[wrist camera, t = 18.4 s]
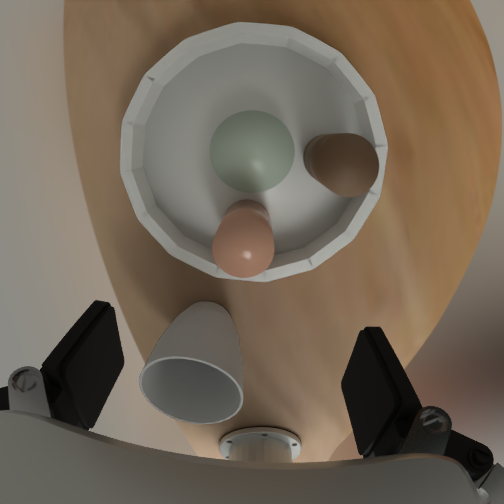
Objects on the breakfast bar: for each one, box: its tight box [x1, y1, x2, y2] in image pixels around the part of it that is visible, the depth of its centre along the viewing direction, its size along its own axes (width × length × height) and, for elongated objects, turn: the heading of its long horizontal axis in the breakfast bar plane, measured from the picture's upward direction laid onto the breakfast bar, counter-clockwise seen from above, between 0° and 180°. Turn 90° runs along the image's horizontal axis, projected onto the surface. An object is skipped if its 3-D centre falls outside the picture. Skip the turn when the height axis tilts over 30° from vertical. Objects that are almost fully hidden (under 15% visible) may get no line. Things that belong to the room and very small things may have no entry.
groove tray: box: [120, 22, 388, 282], centre depth 22 cm, size 20×20×4 cm
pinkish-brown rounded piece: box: [212, 200, 275, 278], centre depth 22 cm, size 4×4×6 cm
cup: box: [139, 301, 243, 424], centre depth 25 cm, size 8×8×10 cm
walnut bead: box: [303, 133, 379, 197], centre depth 19 cm, size 4×4×6 cm
